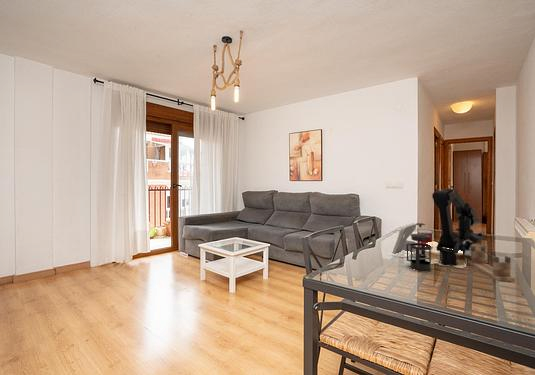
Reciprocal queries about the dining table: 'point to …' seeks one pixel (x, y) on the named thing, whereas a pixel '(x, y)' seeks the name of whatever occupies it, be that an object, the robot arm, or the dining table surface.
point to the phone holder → (404, 239)
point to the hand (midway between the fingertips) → (464, 254)
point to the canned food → (426, 234)
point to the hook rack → (498, 270)
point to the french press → (420, 252)
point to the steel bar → (468, 252)
